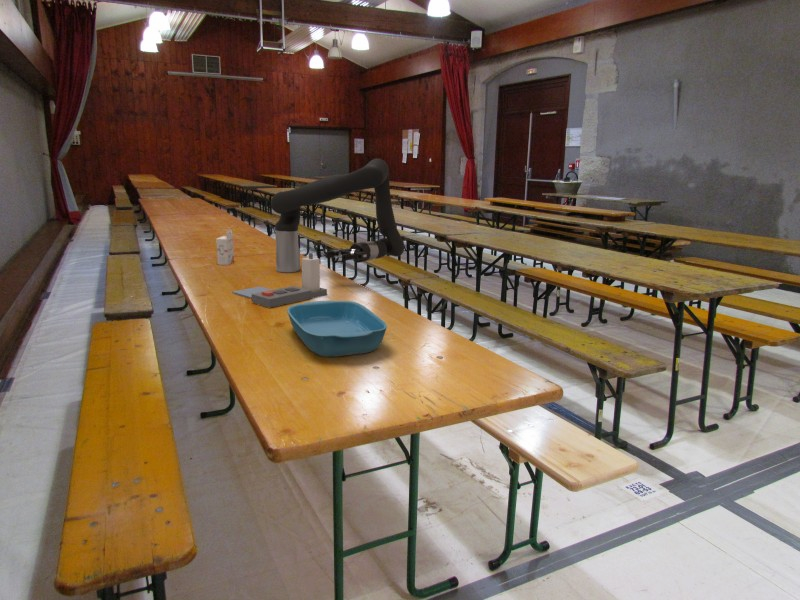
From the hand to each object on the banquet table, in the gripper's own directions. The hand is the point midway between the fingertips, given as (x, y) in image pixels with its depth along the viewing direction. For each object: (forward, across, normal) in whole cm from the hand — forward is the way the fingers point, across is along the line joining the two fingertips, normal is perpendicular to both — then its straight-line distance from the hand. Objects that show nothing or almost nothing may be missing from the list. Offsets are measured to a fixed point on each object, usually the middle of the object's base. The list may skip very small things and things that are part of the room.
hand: (334, 256), depth 207 cm
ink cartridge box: (0, -68, +11) cm, 69 cm away
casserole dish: (+40, +42, +14) cm, 59 cm away
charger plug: (+11, 0, +12) cm, 17 cm away
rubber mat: (+24, -14, +12) cm, 31 cm away
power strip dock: (+20, 0, +12) cm, 24 cm away
